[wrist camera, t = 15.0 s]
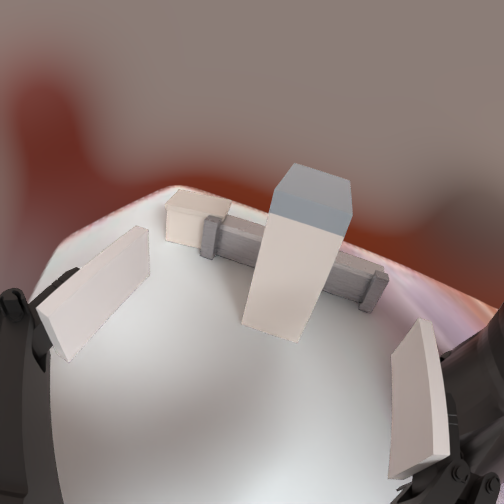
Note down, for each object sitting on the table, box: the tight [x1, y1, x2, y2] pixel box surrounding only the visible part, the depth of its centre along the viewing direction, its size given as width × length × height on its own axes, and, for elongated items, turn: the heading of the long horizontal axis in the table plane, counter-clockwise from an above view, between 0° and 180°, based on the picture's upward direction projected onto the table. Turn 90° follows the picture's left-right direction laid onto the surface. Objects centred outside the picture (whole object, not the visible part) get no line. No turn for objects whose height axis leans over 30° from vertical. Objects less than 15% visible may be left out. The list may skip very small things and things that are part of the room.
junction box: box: [165, 189, 232, 249], centre depth 32 cm, size 6×4×5 cm
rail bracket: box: [200, 215, 389, 313], centre depth 30 cm, size 19×5×4 cm, turn 73°
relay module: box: [241, 163, 353, 343], centre depth 24 cm, size 5×8×12 cm, turn 163°
